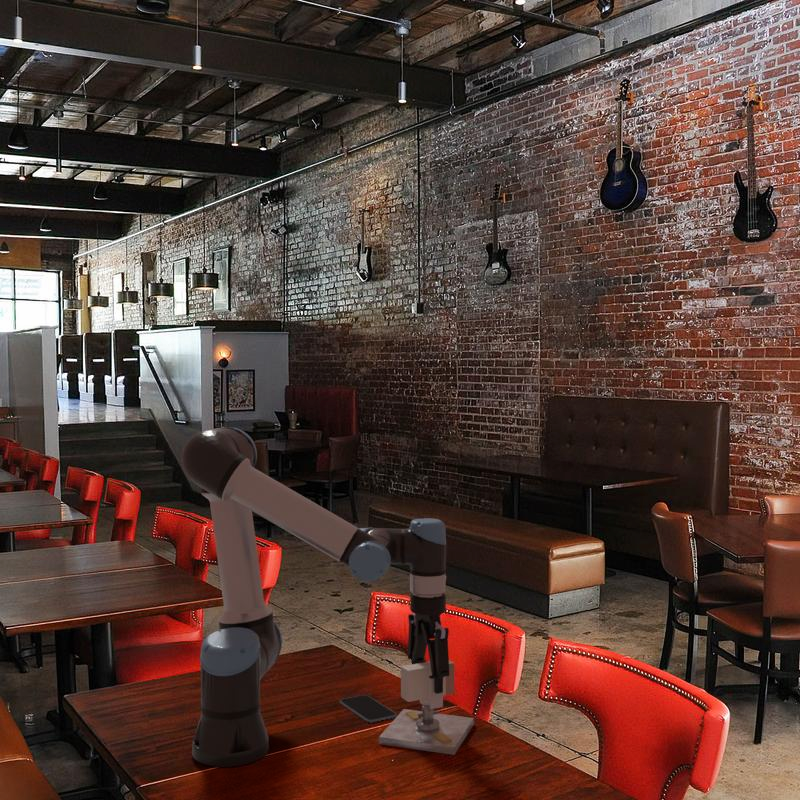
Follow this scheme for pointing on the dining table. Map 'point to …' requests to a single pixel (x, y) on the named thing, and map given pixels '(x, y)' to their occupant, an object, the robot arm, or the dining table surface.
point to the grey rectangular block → (423, 682)
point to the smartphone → (367, 708)
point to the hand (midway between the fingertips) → (427, 701)
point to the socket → (427, 731)
